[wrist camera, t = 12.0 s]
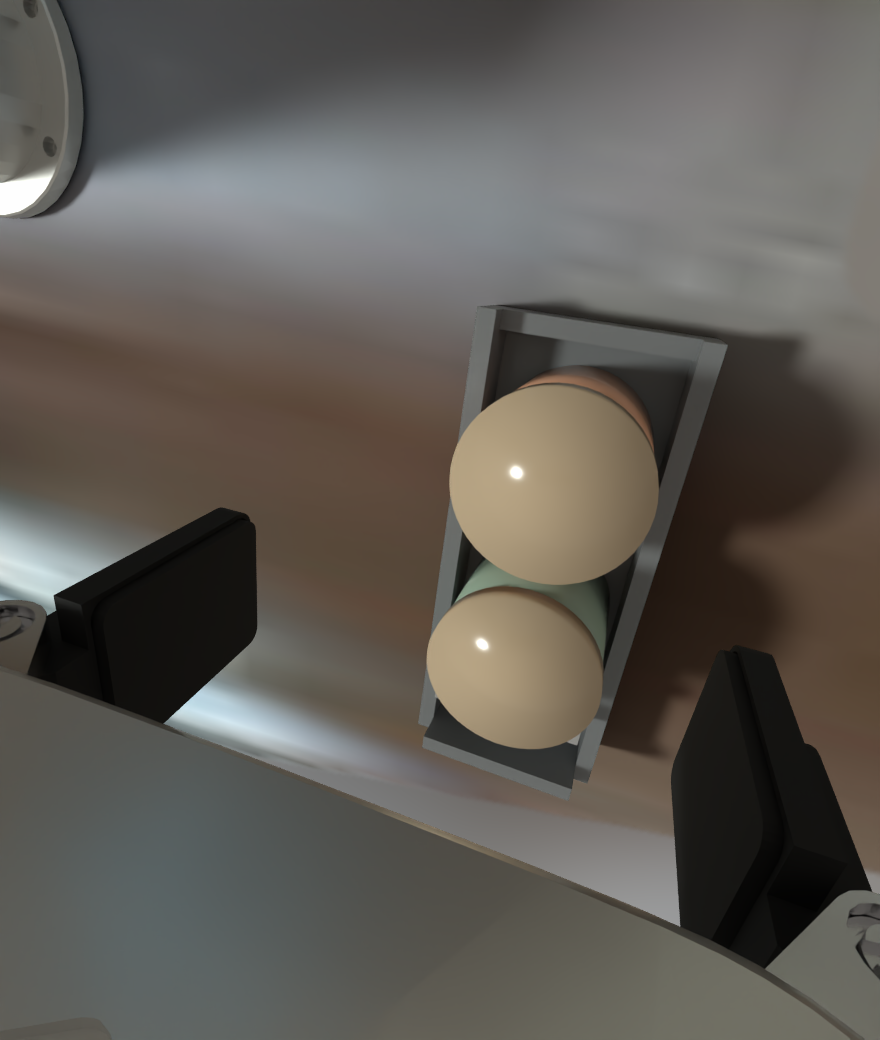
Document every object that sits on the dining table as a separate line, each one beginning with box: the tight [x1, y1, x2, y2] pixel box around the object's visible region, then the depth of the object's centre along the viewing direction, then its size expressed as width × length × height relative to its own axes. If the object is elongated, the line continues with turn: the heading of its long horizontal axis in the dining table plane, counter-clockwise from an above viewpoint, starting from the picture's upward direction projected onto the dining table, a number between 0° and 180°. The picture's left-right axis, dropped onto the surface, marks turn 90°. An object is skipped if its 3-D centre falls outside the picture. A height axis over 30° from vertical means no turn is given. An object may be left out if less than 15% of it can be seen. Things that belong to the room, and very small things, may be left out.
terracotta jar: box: [449, 365, 659, 585], centre depth 23 cm, size 7×7×7 cm
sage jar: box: [427, 556, 610, 749], centre depth 26 cm, size 7×7×7 cm
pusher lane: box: [418, 305, 728, 801], centre depth 27 cm, size 22×9×4 cm, turn 172°
